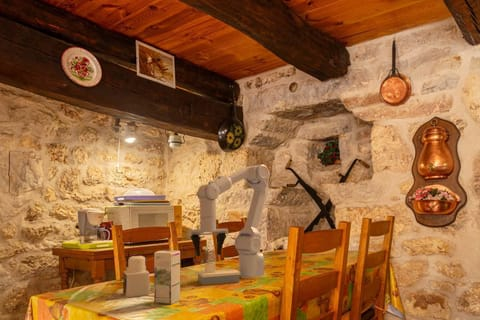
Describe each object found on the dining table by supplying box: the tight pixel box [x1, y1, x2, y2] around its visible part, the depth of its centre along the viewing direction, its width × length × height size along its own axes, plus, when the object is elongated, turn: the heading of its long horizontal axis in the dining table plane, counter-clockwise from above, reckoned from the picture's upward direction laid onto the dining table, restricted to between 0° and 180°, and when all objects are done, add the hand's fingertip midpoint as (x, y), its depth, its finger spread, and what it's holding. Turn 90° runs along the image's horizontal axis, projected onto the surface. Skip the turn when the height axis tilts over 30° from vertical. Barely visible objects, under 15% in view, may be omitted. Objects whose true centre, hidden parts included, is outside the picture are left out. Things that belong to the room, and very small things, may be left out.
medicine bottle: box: [122, 254, 150, 299], centre depth 122 cm, size 7×7×12 cm
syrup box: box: [153, 249, 181, 305], centre depth 112 cm, size 6×6×14 cm
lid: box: [196, 262, 240, 277], centre depth 138 cm, size 14×10×4 cm
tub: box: [197, 274, 240, 287], centre depth 137 cm, size 13×9×3 cm
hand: (208, 255), depth 138 cm, fingers open, 7 cm apart
